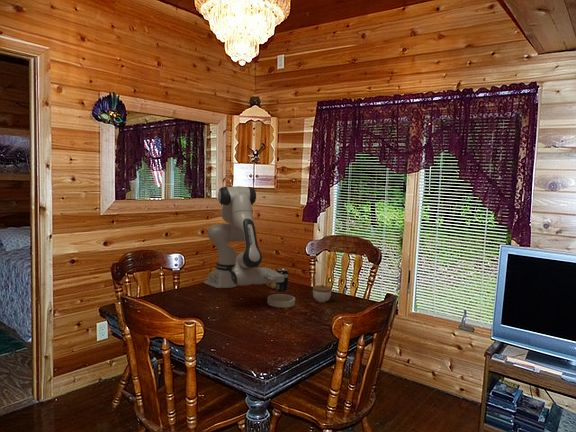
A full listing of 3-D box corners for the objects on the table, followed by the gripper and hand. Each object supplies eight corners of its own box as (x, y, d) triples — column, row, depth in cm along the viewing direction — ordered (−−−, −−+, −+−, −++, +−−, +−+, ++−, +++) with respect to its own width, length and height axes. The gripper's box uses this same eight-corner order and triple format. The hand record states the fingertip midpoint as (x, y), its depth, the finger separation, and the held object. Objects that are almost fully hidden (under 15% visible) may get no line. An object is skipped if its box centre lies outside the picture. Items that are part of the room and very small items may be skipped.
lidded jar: (324, 305, 233) (325, 288, 232) (308, 300, 239) (309, 284, 238) (334, 301, 241) (335, 285, 240) (318, 297, 248) (319, 281, 247)
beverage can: (282, 288, 236) (282, 267, 235) (290, 291, 231) (291, 269, 230) (273, 290, 231) (273, 269, 230) (281, 293, 226) (282, 271, 226)
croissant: (278, 295, 260) (284, 284, 260) (264, 288, 258) (270, 277, 258) (274, 285, 281) (280, 275, 280) (261, 278, 279) (267, 268, 279)
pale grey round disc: (262, 303, 231) (262, 298, 230) (278, 297, 243) (278, 292, 242) (284, 309, 222) (284, 303, 222) (300, 303, 234) (300, 297, 234)
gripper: (269, 274, 215) (293, 272, 222) (253, 266, 233) (276, 264, 240) (269, 286, 216) (292, 284, 222) (253, 277, 234) (275, 275, 240)
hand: (283, 274), depth 231 cm, fingers closed on beverage can, 6 cm apart
